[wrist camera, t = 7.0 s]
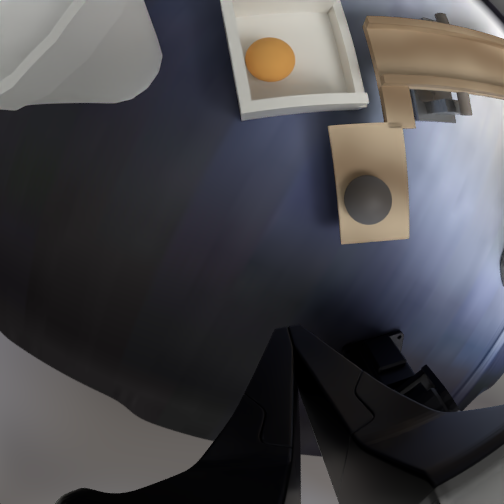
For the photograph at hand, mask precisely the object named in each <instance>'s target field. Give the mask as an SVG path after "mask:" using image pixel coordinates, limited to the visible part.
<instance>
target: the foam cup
mask: <svg viewBox="0 0 504 504" xmlns="http://www.w3.org/2000/svg"><path fill="white" fill-rule="evenodd" d="M162 56H163V55H162V52H161V48H160V45H159V42H158V38H157V35H156V33H155V30H154V27H153V24H152V22H151V19H150V16H149V13H148V11H147V8H146V5H145V2H144V0H0V110H15V111H16V110H18V109H20V108H22V107H24V106H26V105H36V104H53V103H118V102H122V101H127V100H131V99H133V98H134V97H136V96H137V95H138V94H140V93H141V92H143V91H144V90H146V89H147V88H148V87H149V85H150V84H151V83H152V81H153V80H154V78H155V77H156V76H157V74H158V73H159V69H160V65H161V60H162Z"/></svg>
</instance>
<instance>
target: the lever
mask: <svg viewBox="0 0 504 504" xmlns="http://www.w3.org/2000/svg"><path fill="white" fill-rule="evenodd" d="M435 18H436V21H437V22H432V21H426V20H418V19H410V18H399V17H385V16H367V17H366V19H365V22H364V24H363V26H362V27H363V30H364V34H365V37H366V40H367V44H368V48H369V51H370V55H371V59H372V63H373V68H374V72H375V76H376V81H377V86H378V90H379V95H380V100H381V105H382V111H383V117H384V123H360V124H345V125H332V126H328V132H329V139H330V146H331V153H332V160H333V168H334V176H335V185H336V194H337V204H338V215H339V227H340V240H341V244H352V243H363V242H375V241H387V240H399V239H409V194H408V176H407V164H406V153H405V144H404V136H403V129H413V128H416V126H415V119H414V113H413V107H412V101H411V96H410V91H409V89H420V90H436V91H447V92H457V97H458V103H459V109H460V115H472V110H471V104H470V99H469V94H473V95H479V96H485V97H491V98H497V99H502V100H504V39H502V38H499V37H496V36H493V35H490V34H486V33H483V32H479V31H476V30H472V29H468V28H463V27H459V26H454V25H449V22H448V19H447V17H446V15H445V14H443V13H437V14H435Z"/></svg>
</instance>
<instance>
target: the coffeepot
mask: <svg viewBox="0 0 504 504" xmlns="http://www.w3.org/2000/svg"><path fill="white" fill-rule="evenodd" d="M500 270H501V279H502V281H503V286H504V250H503V254H502V259H501V268H500Z"/></svg>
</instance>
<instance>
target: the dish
mask: <svg viewBox="0 0 504 504" xmlns="http://www.w3.org/2000/svg"><path fill="white" fill-rule="evenodd" d="M220 5H221V12H222V18H223V23H224V28H225V34H226V39H227V44H228V50H229V55H230V60H231V66H232V71H233V77H234V82H235V88H236V93H237V99H238V104H239V110H240V116H241V121H244V120H251V119H257V118H264V117H272V116H280V115H289V114H299V113H310V112H324V111H342V110H359V109H362V108H366V107H367V104H369V100H368V94H367V93H364V88H363V83H362V78H361V73H360V69H359V65H358V61H357V57H356V53H355V49H354V45H353V41H352V38H351V34H350V31H349V27H348V24H347V21H346V17H345V14H344V11H343V8H342V5H341V2H340V0H220ZM267 37H272V38H277V39H280V40H283V41H284V42H286V43H287V44H288V45H289V46H290V47H291V48H292V50H293V52H294V55H295V66H294V68H293V70H292V72H291V73H290V74H289V75H288V76H287V77H286V78H284V79H282V80H280V81H276V82H266V81H262V80H259V79H257V78H256V77H254V76H253V75H252V74H251V73H250V72H249V71H248V69H247V67H246V63H245V55H246V52H247V50H248V48H249V47H250V45H251V44H253V43H254V42H255V41H257V40H259V39H262V38H267Z"/></svg>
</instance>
